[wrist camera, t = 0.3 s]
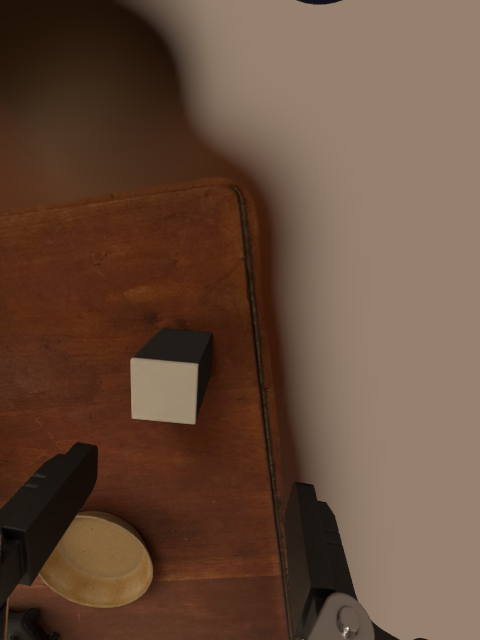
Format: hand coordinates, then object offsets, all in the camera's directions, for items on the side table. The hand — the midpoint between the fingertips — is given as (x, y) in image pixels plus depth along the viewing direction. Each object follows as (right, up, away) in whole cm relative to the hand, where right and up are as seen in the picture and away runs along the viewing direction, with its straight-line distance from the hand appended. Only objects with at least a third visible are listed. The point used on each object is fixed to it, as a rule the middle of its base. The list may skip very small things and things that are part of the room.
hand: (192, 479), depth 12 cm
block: (-4, +3, +18) cm, 19 cm away
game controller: (-28, -37, +30) cm, 56 cm away
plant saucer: (-16, -22, +26) cm, 37 cm away
